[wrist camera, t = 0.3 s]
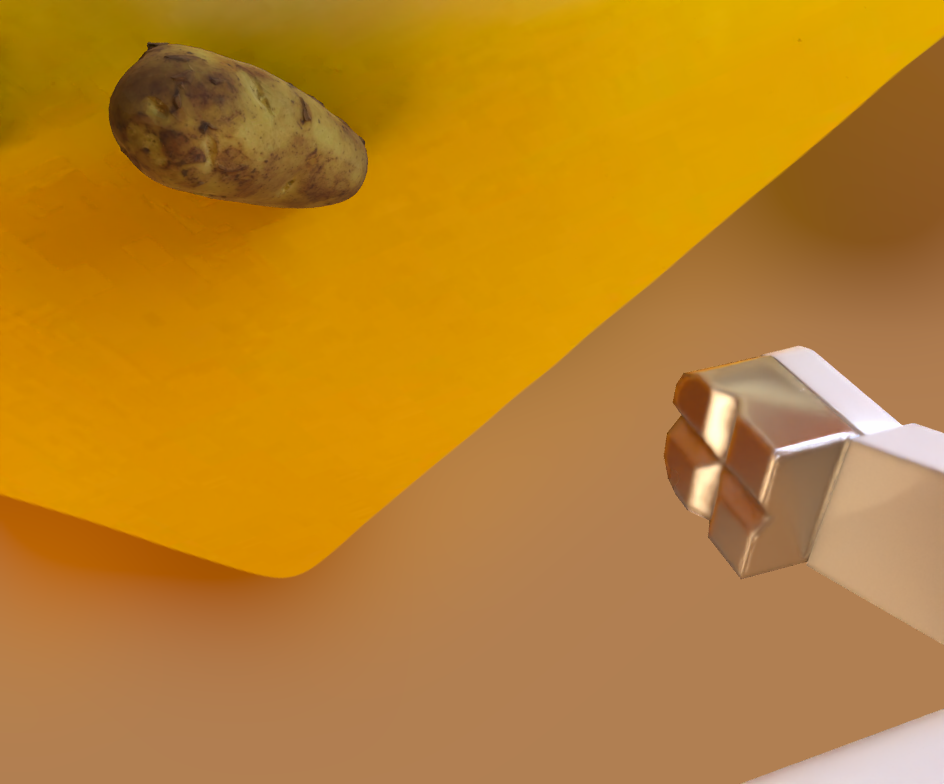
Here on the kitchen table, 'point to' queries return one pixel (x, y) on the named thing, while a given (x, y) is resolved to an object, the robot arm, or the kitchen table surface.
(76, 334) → the kitchen table surface
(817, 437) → the robot arm
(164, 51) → the potato
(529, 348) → the kitchen table surface
